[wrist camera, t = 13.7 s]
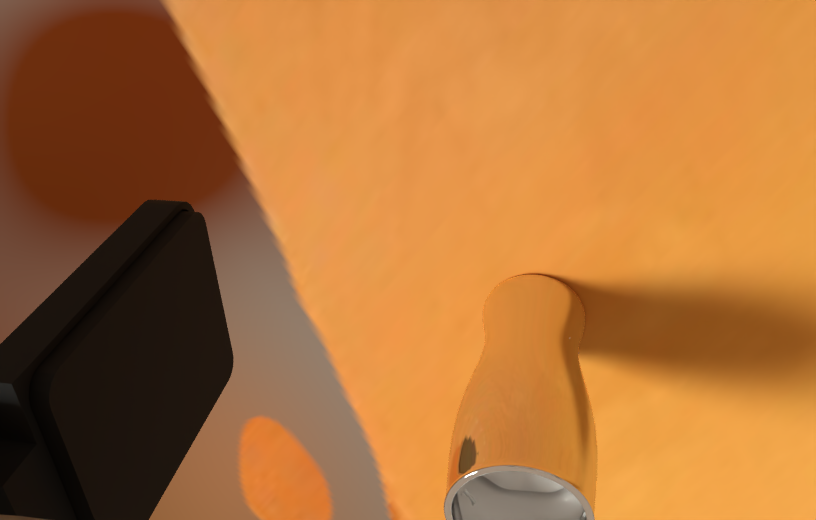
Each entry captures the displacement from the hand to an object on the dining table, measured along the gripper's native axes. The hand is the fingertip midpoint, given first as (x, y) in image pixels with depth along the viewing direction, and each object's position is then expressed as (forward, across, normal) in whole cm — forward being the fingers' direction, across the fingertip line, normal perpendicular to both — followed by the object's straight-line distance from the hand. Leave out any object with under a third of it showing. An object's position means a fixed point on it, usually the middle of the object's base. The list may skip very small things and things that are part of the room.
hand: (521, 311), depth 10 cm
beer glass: (+28, 0, +21) cm, 35 cm away
